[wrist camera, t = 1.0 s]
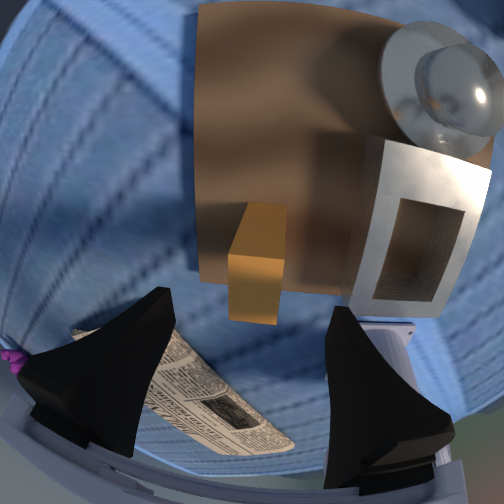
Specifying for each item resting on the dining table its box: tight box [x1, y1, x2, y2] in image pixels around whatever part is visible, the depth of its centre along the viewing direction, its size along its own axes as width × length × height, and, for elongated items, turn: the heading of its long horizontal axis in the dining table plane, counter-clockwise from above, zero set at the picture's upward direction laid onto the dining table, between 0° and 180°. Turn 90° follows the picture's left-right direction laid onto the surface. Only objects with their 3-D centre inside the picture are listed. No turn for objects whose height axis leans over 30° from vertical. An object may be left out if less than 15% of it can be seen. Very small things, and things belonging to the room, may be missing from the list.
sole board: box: [194, 1, 494, 295], centre depth 17 cm, size 21×22×2 cm
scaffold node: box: [339, 21, 504, 318], centre depth 13 cm, size 20×9×6 cm, turn 178°
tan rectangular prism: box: [228, 202, 286, 325], centre depth 16 cm, size 4×2×7 cm, turn 178°
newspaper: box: [70, 328, 295, 455], centre depth 35 cm, size 37×19×3 cm, turn 29°
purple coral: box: [1, 349, 29, 377], centre depth 39 cm, size 11×15×10 cm
